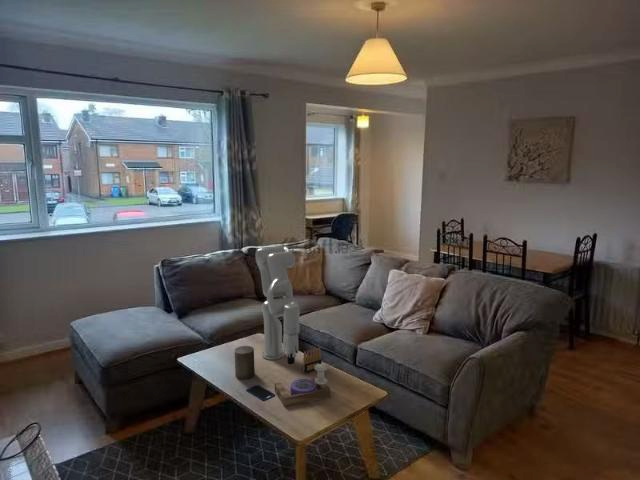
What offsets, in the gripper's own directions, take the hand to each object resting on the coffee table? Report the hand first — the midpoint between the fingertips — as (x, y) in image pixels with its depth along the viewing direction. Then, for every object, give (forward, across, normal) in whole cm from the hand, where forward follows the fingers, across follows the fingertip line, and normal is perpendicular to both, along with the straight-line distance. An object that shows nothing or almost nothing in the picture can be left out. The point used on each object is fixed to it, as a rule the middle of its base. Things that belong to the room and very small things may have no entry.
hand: (290, 363), depth 226 cm
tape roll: (+8, +16, 0) cm, 18 cm away
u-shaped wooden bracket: (+7, +16, 0) cm, 17 cm away
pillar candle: (+9, -12, -20) cm, 25 cm away
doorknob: (+3, +16, +10) cm, 18 cm away
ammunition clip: (+9, -4, +13) cm, 16 cm away
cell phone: (+8, +8, -17) cm, 21 cm away
